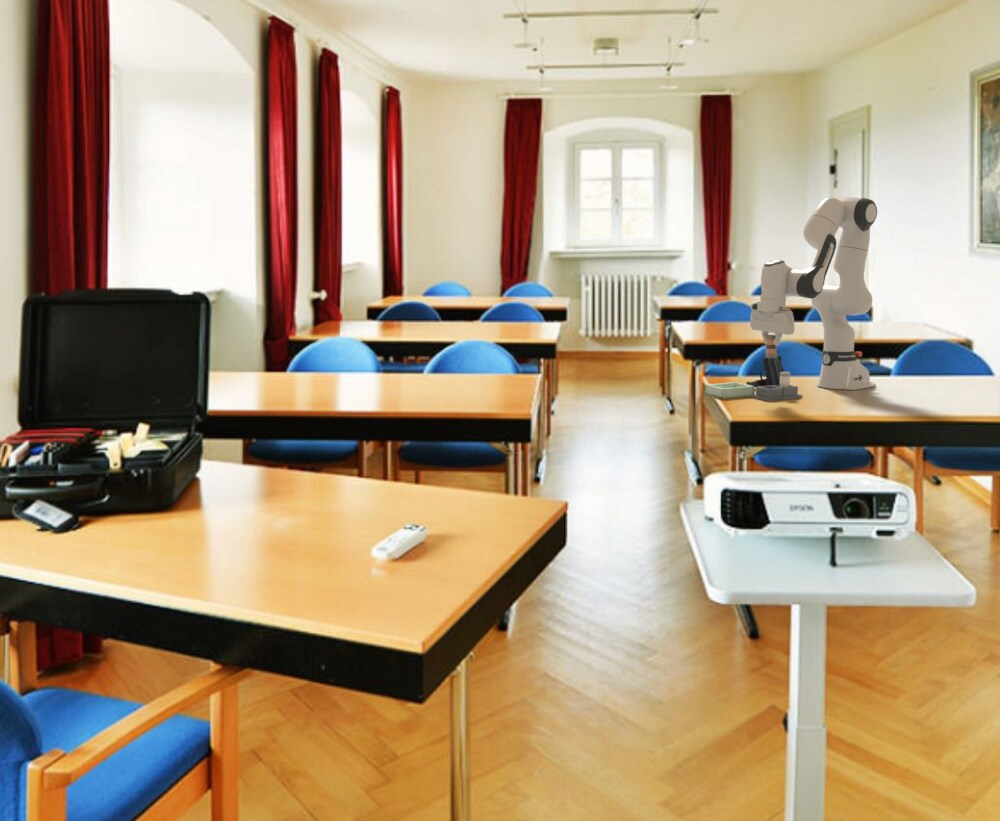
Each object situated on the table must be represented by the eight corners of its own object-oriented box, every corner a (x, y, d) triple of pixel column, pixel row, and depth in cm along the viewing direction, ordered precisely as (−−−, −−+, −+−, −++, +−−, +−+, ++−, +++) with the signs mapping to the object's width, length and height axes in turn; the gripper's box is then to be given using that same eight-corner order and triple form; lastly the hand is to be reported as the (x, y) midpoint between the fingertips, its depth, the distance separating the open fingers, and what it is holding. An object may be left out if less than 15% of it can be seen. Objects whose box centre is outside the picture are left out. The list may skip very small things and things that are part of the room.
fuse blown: (771, 356, 370) (772, 334, 369) (778, 357, 367) (779, 335, 365) (763, 357, 369) (764, 335, 367) (770, 358, 365) (770, 336, 364)
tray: (735, 391, 385) (735, 382, 385) (754, 395, 376) (754, 386, 375) (705, 394, 380) (705, 384, 379) (723, 398, 370) (723, 389, 369)
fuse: (784, 392, 376) (785, 371, 374) (791, 394, 372) (792, 372, 371) (776, 393, 374) (777, 372, 373) (783, 395, 371) (784, 373, 369)
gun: (741, 352, 391) (779, 344, 383) (750, 394, 392) (788, 387, 384) (739, 353, 389) (777, 345, 381) (748, 395, 390) (786, 388, 382)
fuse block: (785, 393, 379) (786, 383, 378) (802, 397, 371) (802, 386, 370) (751, 397, 373) (751, 386, 372) (767, 401, 365) (767, 390, 364)
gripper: (799, 308, 356) (798, 347, 359) (761, 303, 374) (760, 341, 377) (785, 309, 354) (783, 348, 356) (747, 304, 372) (746, 342, 375)
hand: (771, 344), depth 367 cm, fingers closed on fuse blown, 4 cm apart
